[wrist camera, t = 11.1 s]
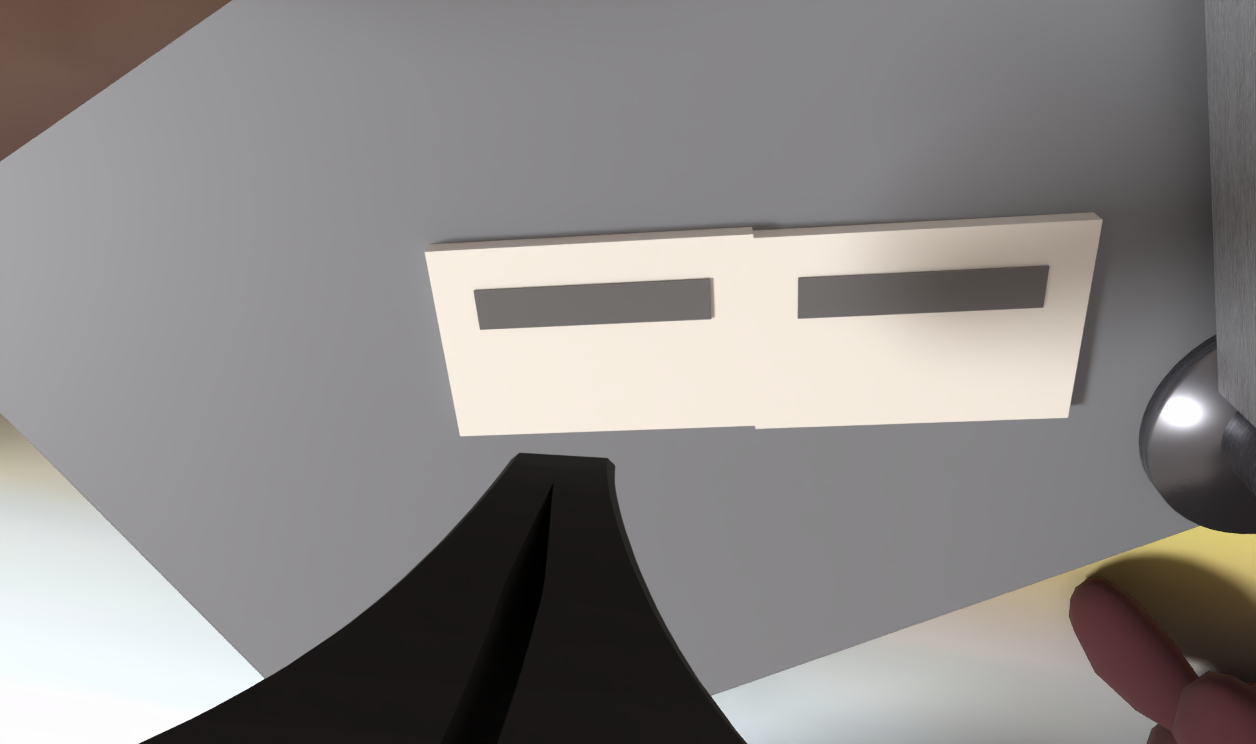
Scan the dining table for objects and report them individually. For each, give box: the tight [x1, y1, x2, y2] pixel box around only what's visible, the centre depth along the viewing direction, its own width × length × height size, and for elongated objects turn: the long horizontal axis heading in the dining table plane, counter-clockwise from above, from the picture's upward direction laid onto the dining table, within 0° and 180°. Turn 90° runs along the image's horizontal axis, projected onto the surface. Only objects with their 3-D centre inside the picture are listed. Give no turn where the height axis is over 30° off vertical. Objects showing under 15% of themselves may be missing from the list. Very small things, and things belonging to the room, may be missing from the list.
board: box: [0, 0, 1216, 696], centre depth 18 cm, size 18×26×1 cm
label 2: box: [753, 212, 1103, 429], centre depth 17 cm, size 6×4×1 cm, turn 94°
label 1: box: [425, 227, 756, 436], centre depth 17 cm, size 6×4×1 cm, turn 94°
